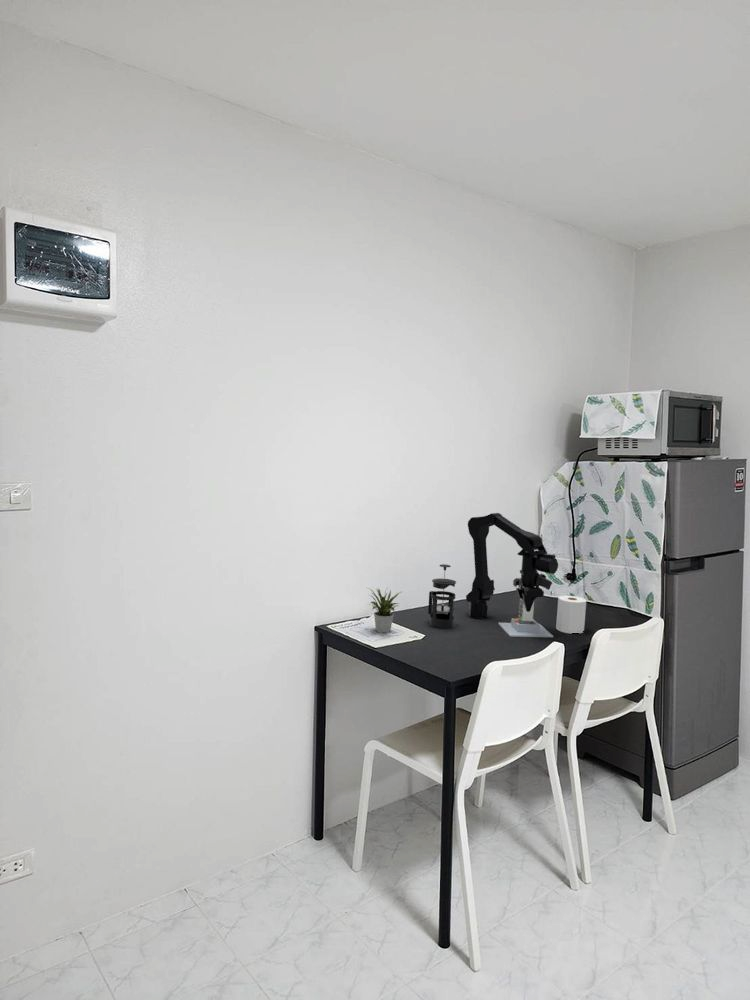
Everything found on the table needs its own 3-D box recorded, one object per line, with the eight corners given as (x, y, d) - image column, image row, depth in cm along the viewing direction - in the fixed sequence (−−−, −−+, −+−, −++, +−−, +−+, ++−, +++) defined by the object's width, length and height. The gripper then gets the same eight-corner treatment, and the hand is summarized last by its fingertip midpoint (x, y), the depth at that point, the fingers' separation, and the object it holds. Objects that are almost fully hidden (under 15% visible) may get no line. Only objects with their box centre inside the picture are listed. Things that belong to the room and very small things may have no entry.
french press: (460, 626, 265) (464, 566, 262) (443, 630, 258) (447, 568, 256) (437, 619, 273) (440, 560, 271) (420, 623, 267) (423, 563, 264)
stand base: (509, 636, 255) (510, 625, 255) (498, 623, 271) (499, 613, 270) (553, 637, 256) (553, 626, 256) (539, 624, 272) (539, 614, 272)
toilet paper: (585, 635, 261) (588, 603, 260) (556, 632, 263) (559, 600, 262) (582, 627, 271) (585, 596, 270) (554, 625, 273) (557, 594, 272)
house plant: (353, 632, 251) (355, 587, 249) (368, 622, 264) (370, 579, 262) (391, 638, 246) (393, 592, 244) (404, 628, 258) (406, 584, 257)
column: (520, 620, 261) (521, 600, 260) (517, 617, 265) (518, 598, 264) (532, 621, 261) (534, 601, 261) (529, 618, 265) (530, 598, 265)
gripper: (559, 574, 253) (556, 617, 254) (542, 564, 271) (539, 604, 273) (529, 574, 252) (525, 616, 253) (514, 563, 270) (511, 603, 272)
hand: (526, 610), depth 263 cm, fingers closed on column, 4 cm apart
